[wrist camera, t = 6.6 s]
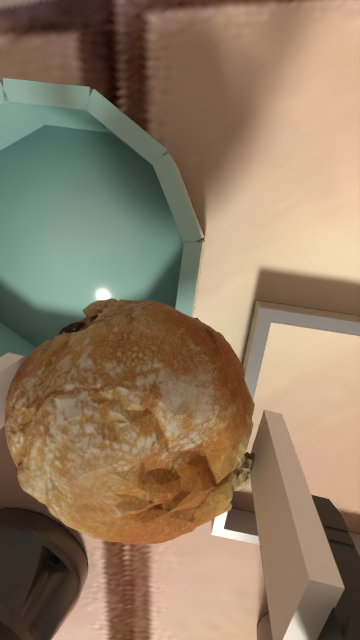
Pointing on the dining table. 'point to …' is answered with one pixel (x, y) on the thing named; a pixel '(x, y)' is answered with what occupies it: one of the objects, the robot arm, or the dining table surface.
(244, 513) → the rectangular frame
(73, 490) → the bread roll
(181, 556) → the dining table surface
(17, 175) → the bowl
